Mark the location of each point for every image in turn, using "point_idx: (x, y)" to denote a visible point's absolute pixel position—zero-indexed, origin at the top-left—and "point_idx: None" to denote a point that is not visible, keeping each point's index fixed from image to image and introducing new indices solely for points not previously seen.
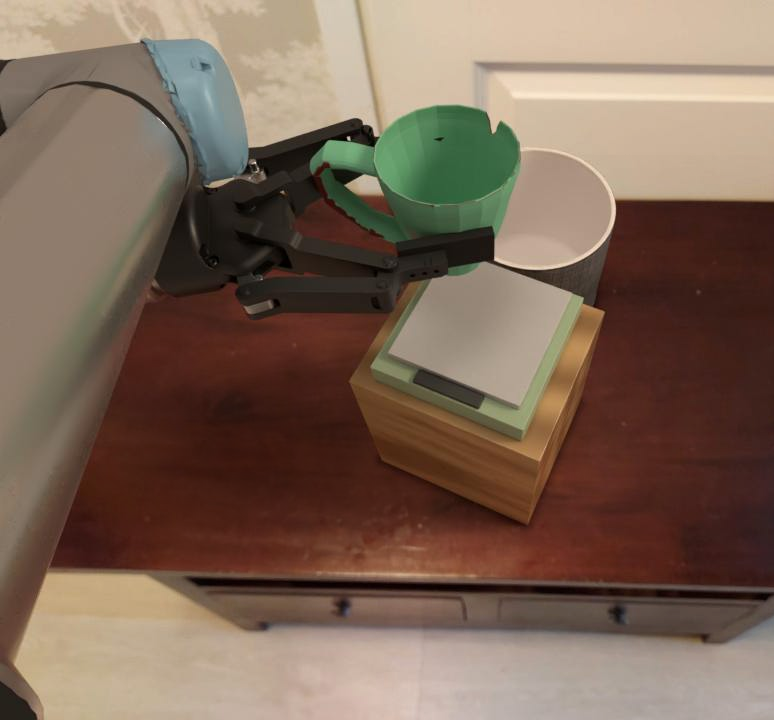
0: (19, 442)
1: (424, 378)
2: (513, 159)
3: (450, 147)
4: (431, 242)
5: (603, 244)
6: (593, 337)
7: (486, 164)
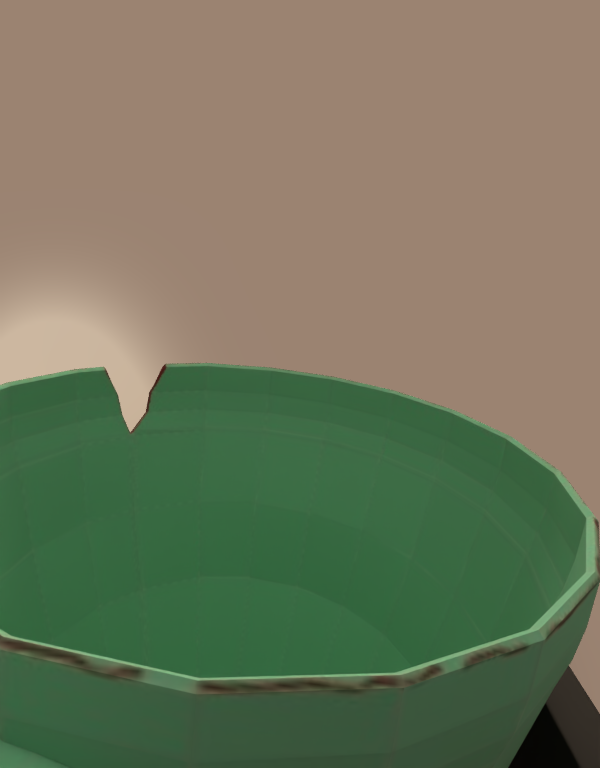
0: None
1: None
2: (257, 432)
3: (12, 569)
4: (593, 722)
5: None
6: None
7: (134, 540)
